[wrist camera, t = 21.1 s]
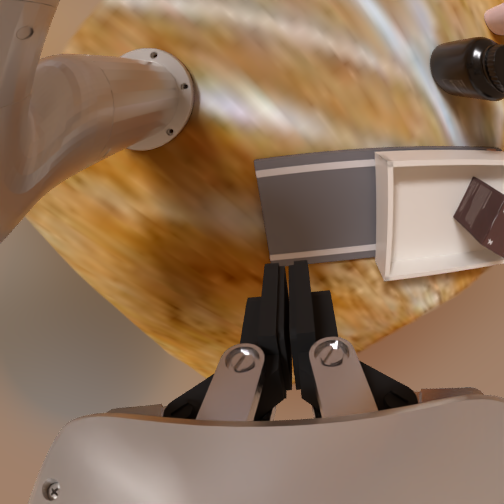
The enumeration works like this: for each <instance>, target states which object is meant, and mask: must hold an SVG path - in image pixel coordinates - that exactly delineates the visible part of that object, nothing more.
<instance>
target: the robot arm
mask: <svg viewBox="0 0 504 504" xmlns="http://www.w3.org/2000/svg"><path fill="white" fill-rule="evenodd" d="M59 1H60V0H0V243H1V242H2V241H3V240H4V239H5V238H6V237H7V236H8V235H9V234H10V233H11V232H12V230H13V229H14V228H15V227H16V226H17V225H18V224H19V222H20V221H21V220H22V219H23V218H24V216H25V215H26V214H27V213H28V212H29V211H30V210H31V208H32V207H33V206H34V205H35V204H36V203H37V202H38V201H39V200H40V199H41V198H42V197H43V196H44V195H45V194H47V193H48V192H49V191H50V190H51V189H53V188H54V187H56V186H57V185H58V184H60V183H61V182H63V181H64V180H66V179H68V178H69V177H71V176H73V175H74V174H76V173H78V172H80V171H82V170H83V169H85V168H87V167H89V166H91V165H93V164H95V163H97V162H99V161H101V160H103V159H105V158H107V157H109V156H111V155H113V154H115V153H117V152H119V151H121V150H123V149H125V148H127V149H131V150H140V151H144V150H151V149H154V148H157V147H160V146H162V145H164V144H166V143H168V142H169V141H170V140H172V139H173V138H175V137H176V136H177V135H178V134H179V133H180V132H181V131H182V129H183V128H184V126H185V125H186V123H187V122H188V119H189V117H190V115H191V112H192V108H193V104H194V88H193V82H192V79H191V77H190V74H189V72H188V70H187V69H186V67H185V66H184V64H183V63H182V62H181V61H180V60H179V59H178V58H176V57H175V56H173V55H172V54H170V53H168V52H165V51H162V50H159V49H154V48H142V49H136V50H133V51H130V52H128V53H126V54H124V55H122V56H121V57H112V56H99V55H80V54H59V55H52V56H48V57H45V58H42V59H39V58H40V55H41V52H42V48H43V45H44V42H45V39H46V36H47V33H48V30H49V27H50V25H51V22H52V19H53V17H54V14H55V12H56V8H57V6H58V4H59ZM156 54H157V57H155V55H156ZM185 85H188V88H187V89H185ZM171 129H173V133H172V132H171ZM292 358H293V367H294V375H295V383H296V389H297V390H299V389H301V395H302V399H304V400H305V401H307V402H308V403H309V404H311V405H312V411H313V416H314V419H303V420H302V419H301V420H282V421H274V417H275V412H276V405H277V404H278V403H280V402H281V401H282V400H283V399H284V398H286V390H292ZM28 504H504V398H502V397H497V396H491V395H484V394H483V393H482V392H481V391H480V390H478V389H476V388H471V387H465V388H440V389H421V391H420V392H414V391H413V390H411V389H410V388H409V387H407V386H405V385H403V384H401V383H400V382H397V381H396V380H394V379H392V378H390V377H388V376H386V375H384V374H383V373H381V372H379V371H377V370H375V369H373V368H371V367H370V366H368V365H366V364H364V363H363V362H361V361H359V360H358V357H357V355H356V352H355V350H354V348H353V346H352V345H351V343H350V342H348V341H347V340H345V339H343V338H340V337H338V333H337V327H336V321H335V315H334V310H333V304H332V299H331V293H330V290H328V291H319V292H311V287H310V278H309V270H308V261H307V260H300V261H294V265H289V296H288V288H287V280H286V273H285V266H279V263H270V264H265V267H264V277H263V287H262V297H252V298H248V299H247V304H246V310H245V316H244V322H243V328H242V335H241V341H240V344H238V345H234V346H232V347H231V348H229V349H228V350H226V351H225V352H224V354H223V355H222V357H221V359H220V362H219V364H218V366H217V369H216V371H215V374H213V375H212V376H210V377H209V378H207V379H206V380H204V381H203V382H201V383H200V384H198V385H196V386H195V387H193V388H192V389H190V390H189V391H187V392H186V393H184V394H183V395H181V396H180V397H178V398H176V399H175V400H173V401H172V402H171V403H169V404H168V406H164V407H163V406H162V404H157V405H148V406H138V407H126V408H116V409H112V410H110V411H108V412H107V413H96V414H91V415H85V416H81V417H78V418H76V419H73V420H71V421H70V422H68V423H67V424H66V425H65V426H64V427H63V428H62V429H61V430H60V432H59V433H58V435H57V436H56V438H55V440H54V442H53V443H52V445H51V447H50V449H49V451H48V453H47V455H46V458H45V460H44V462H43V465H42V467H41V469H40V471H39V474H38V477H37V479H36V482H35V485H34V488H33V490H32V493H31V496H30V499H29V502H28Z"/></svg>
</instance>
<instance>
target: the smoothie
mask: <svg viewBox="0 0 504 504" xmlns="http://www.w3.org/2000/svg"><path fill="white" fill-rule="evenodd" d="M484 18H485V22H486V24H487V26H488V28H489V29H490V30H491V31H492V32H493V33H495V34H497V35H504V3H502V4H500V5H498V6H496V7H493V8H491V9H489V10H487V11H486V12H485V15H484Z"/></svg>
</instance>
